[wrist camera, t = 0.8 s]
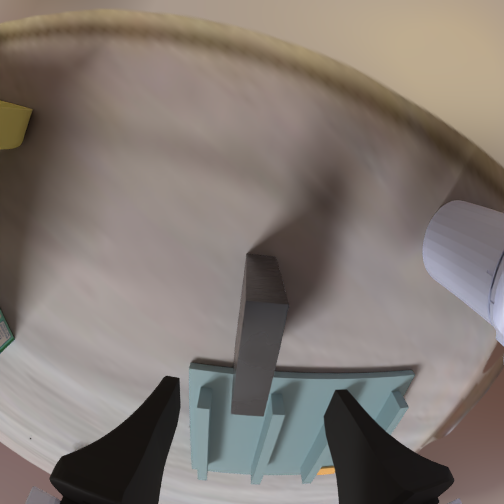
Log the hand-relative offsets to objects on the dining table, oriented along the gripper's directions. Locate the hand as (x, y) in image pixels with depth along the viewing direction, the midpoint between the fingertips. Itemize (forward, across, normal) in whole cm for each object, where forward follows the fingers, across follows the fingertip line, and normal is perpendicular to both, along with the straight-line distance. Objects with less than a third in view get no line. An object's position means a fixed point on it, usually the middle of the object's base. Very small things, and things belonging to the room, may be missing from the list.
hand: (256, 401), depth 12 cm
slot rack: (+9, -6, +15) cm, 19 cm away
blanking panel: (+10, 0, 0) cm, 10 cm away
